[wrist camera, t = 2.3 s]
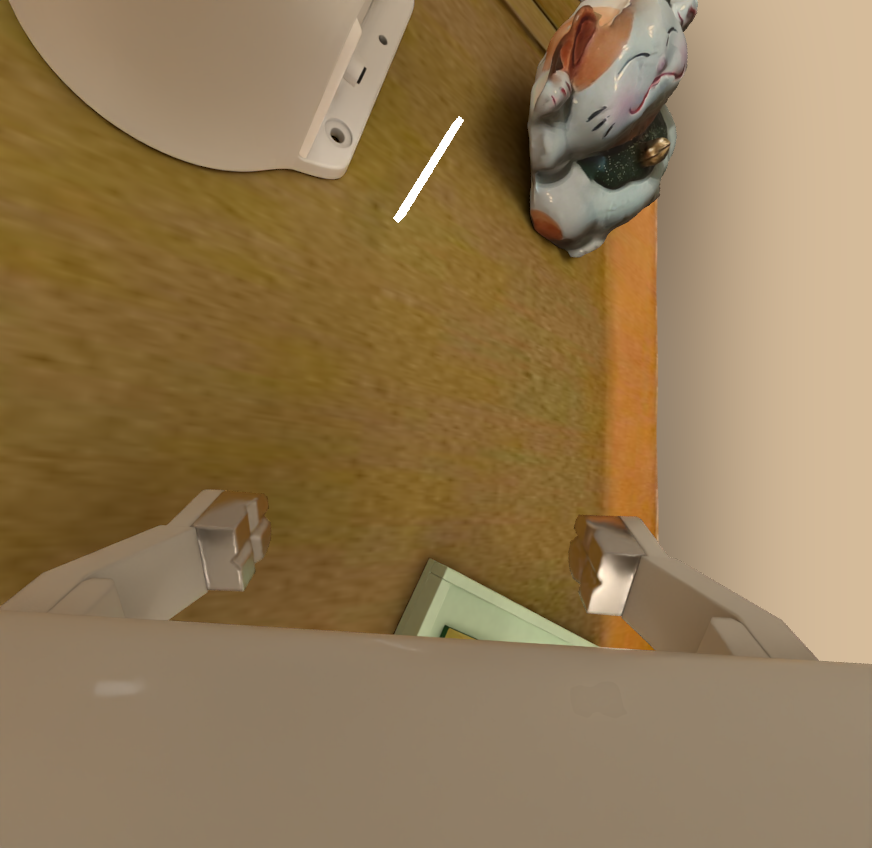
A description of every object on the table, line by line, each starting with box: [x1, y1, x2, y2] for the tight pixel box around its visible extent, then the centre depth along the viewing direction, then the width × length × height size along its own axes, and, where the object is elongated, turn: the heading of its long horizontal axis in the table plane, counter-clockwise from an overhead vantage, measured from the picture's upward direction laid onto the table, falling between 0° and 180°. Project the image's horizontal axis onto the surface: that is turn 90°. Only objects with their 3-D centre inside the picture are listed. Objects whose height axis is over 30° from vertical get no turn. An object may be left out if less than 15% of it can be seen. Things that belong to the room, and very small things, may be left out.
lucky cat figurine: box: [528, 0, 698, 257], centre depth 30 cm, size 15×12×14 cm
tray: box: [394, 558, 598, 647], centre depth 29 cm, size 15×20×2 cm
